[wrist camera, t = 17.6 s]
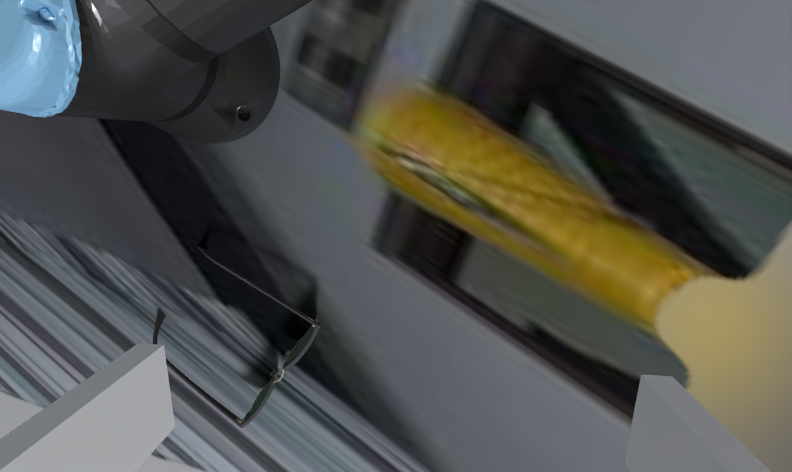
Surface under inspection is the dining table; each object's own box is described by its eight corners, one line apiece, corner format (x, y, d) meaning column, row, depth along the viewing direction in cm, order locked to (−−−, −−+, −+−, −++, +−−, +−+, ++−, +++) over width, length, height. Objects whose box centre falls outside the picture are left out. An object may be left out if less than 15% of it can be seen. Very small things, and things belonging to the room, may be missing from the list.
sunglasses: (213, 223, 44) (186, 234, 39) (333, 309, 46) (322, 329, 41) (148, 327, 48) (117, 347, 43) (261, 403, 49) (243, 432, 45)
